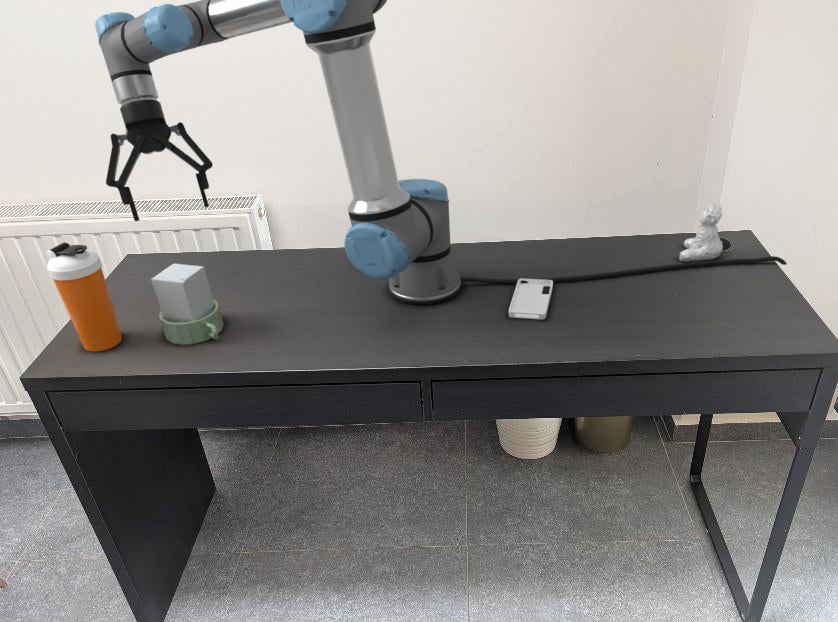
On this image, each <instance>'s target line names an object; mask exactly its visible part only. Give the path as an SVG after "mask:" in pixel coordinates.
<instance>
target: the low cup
mask: <svg viewBox="0 0 838 622" xmlns="http://www.w3.org/2000/svg"><path fill="white" fill-rule="evenodd" d="M213 301H214V305H215V309H214V311H213V312H211V313H210V314H209V315H208V316H206V317H203V318H201V319H199V320H195V321H191V322H184V323H174V322H168V321H166V320H165V319H164V318H163V315H162V312H161V311H159V314H158V317H159V320H160V324H161V327H162V330H163V333H164V336H165V337H164V338H165V339H166V340H167V341H168V342H169V343H172V344H175V345H194V344H199V343H202V342H206V341H209V340H210V339H213V340H219V339H220V335H219V334H220V333H221V332H222V330H223V328H224V326H225V324H224V321H223V317H222V313H221V309H220V305H219V303H218V301H217V300H215V299H213Z"/></svg>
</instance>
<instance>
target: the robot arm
mask: <svg viewBox="0 0 838 622" xmlns="http://www.w3.org/2000/svg"><path fill="white" fill-rule="evenodd" d="M387 1H388V0H198V1H194V2H189V3H185V4H180V5H174V4H172V3H163V4H161V5H158V6H153V7H151V8H150V9H149V10H147V11H146V12H144V13H142V14H140V15H138V16H137V17H135V16H134V15H133V14H131V13H129V12H125V11H124V12H122V11H117V12H110V13H108V14H102V15H100V16H99V17H98V18H96V20H95V23H94V26H95V30H96V34H97V38H98V39H97V40H98V45H99V47H100V49H101V52H102V56H103V58H104V61H105V66H106V68H107V71H108V74H109V77H110V80H111V85H112V88H113V92H114V94H115V99H116V101H117V103H118V105H120V108H119V111H120V114H121V118H122V121H123V124H124V127H125V133H123V134H116V133H111V134H110V141H111V150H110V151H111V152H110V156H109V163H108V168H107V174H106V179H105V185H107V186H108V187H109V188H116V189H117V190H118V192H119V195H120V200H121V202H122V204H123V205H124V206H128V205H129V207H130V210H131V213H132V217H133V220H134V222H140V216H139V213H138V210H137V207H136V204H135V201H134V197H133V195H132V191H131V188H130V187H129V186H126V184H127V183H128V181H129V179H130V176H131V174H132V172H133V170H134V168H135V166H136V164H137V162H138V160H139V158H140V156H141V154H144V155H151V154H153V153H162V152H163V151H165V150H166V149H167V150H168V151H170V152H171V153H172V154H174V156H176V157H178V158H179V159H181V161H182V162H184V163H186V164H187V165H189V166H190V167H191V168H193V169H194V170H195V171H197V172H196V173H195V178H196V181H197V185H198V189H199V191H200V196H201V199H202V202H203V206H204V208H209V206H210V205H209V202H208V198H207V195H206V191H205V190H209V189H210V184H209V179H208V177H207V174H206V173H207V171H208V170H210V169H212V168H213V162H212V160H210V158H209V157H208V156H207V155H206V154H205V152H204V151H203V150H202V149H201V148H200V146H199V145H198V144H197V143H196V142H195V140H194V139H193V138H192V137H191V136H190V134H188V132H187V130H186V127H185V125H184V123H183V122H182V121H179V122H178V123H177V124H174V125H171V126H169V125H168V123H167V121H166V117H165V114H164V111H163V107H162V104H161V102H160V101H159V100H158V99H159V93H158V90H157V87H156V83H155V80H154V76H153V73H152V70H151V67H150V64H152V63H153V62H156V61H157V60H160V59H163V58H165V57H168V56H170V55H175V54H179V53H182V52H186V51H190V50H192V49H196V48H199V47H204V46H207V45H211V44H216V43H221V42H224V41H226V40H227V41H228V40H229V39H233V38H237V37H241V36H245V35H249V34H253V33H256V32H261V31H264V30H268V29H273V28H275V27H279V26H283V25H286V24H287V25H288V24H291V23H293V25H294V26H295V28H297V29H298V30H300V31H302V34H303V38H304V42H305V45H306V47H308V48H309V49H311V50H312V51H313V52H315V53H316V55H317V56H318V60H319V64H320V67H321V71H322V72H321V73H322V76H323V80H324V85H325V88H326V93H327V97H328V100H329V105H330V109H331V112H332V117H333V120H334V125H335V130H336V133H337V137H338V141H339V145H340V149H341V153H342V157H343V162H344V165H345V169H346V173H347V179H348V182H349V185H350V191H351V195H352V198H351V200H350V202H349V204H347V205H348V206H347V212H348V216H349V221H350V225H351V226H350V227H349V229H348V230H347V232H346V235H345V237H344V241H343V242H344V244H343V245H344V250H345V254H346V256H347V258H348V260H349V261H350V263H351V264H352V266H353V267H355V268H356V270H357V271H361V272H362V273H363V275H365V276H366V277H369V278H371V279H375V280H389V281H388V287H389V294H390V295H391V296H392V297H393V298H394V299H395V300H397V301H398V302H400V303H404V304H409V305H423V306H425V305H433V304H438V303H443V302H445V301H448V300H450V299H452V298H454V297H455V296H457V295H458V294H459V293H460V292H461V289H462V282H463V283H465V282H466V283H484V284H485V283H486V284H503V285H504V284H509V285H511V284H512V285H515V284H516V285H517V282H518V280H519V279H520V278H513V279H512V278H485V277H470V276H469V277H468V276H466V277H465V276H461V275H460V273H459V270H458V268H457V265H456V262H455V260H454V257H453V254H452V250H451V229H450V228H451V227H450V226H451V225H450V199H449V193H448V188H447V186H446V185H445V184H444V183H443V182H441V181H438V180H435V179H434V180H433V179H427V178H426V179H425V178H408V179H400V180H399V177H398V172H397V168H396V163H395V158H394V155H393V149H392V144H391V140H390V134H389V129H388V125H387V121H386V116H385V112H384V107H383V101H382V97H381V92H380V87H379V83H378V78H377V73H376V68H375V63H374V58H373V54H372V50H371V43H372V42H371V41H372V40H373V38H374V37H375V35H376V33H377V28H376V23H375V18H374V14H376V13H378V12H379V11H380V10H381V9H382V8H383V7H384V6H385V5H386V3H387ZM172 133H174V134H175V135H176V136H177V137H181V138H182V140H183V141H184V142H185V143H186V145H187V146H188V147H189V148H190V149H191V151H192V152H193V153H194V154H195V155H196V157H198V158H199V160H200V161H201V162H202V163H203V164H200V163H199V162H198V161H196V160H195V159H194V158H192V157H191V156H189V155H188V154H187V153H185V151H183V150H182V149H180V148H179V147H178V146H176V145H175V144H174V143H172V142H171V141H170V138H171V135H172ZM126 141H127V142H128V143H129V144H130V145H132V146H133V147H132V149H131V152H130V154H129V156H128V159H127V161H126V163H125V165H124V167H123V169H122V170H121V174H120V175H119V177H118V180H116V177H117V176H116V175H117V170H118V166H119V160H120V154H121V147H123V146H124V144H125V142H126ZM771 261H773V262H777V263H779V264H780V265H782V266H786V265H788V263H787V261H785V259H783V258H782V257H779V256H775V255H772V256H764V257H757V258H756V257H755V258H734V259H717V260H716V259H715V260H704V261H691V262H683V263H676V264H674V263H673V264H665V265H657V266H649V267H642V268H634V269H633V268H632V269H626V270H625V269H624V270H617V271H609V272H601V273H593V274H581V275H572V276H560V277H559V276H558V277H545V278H539V279H540V280H552V281H553V283H560V282H561V283H562V282H572V281H573V282H574V281H582V280H594V279H603V278H610V277H618V276H626V275H634V274H642V273H650V272H655V271H656V272H657V271H665V270H666V271H667V270H674V269H675V270H676V269H682V268H683V269H685V268H693V267H704V266H717V265H718V266H719V265H733V264H757V263H764V262H771ZM521 283H529V282H528V281H524V280H521Z"/></svg>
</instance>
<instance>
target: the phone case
mask: <svg viewBox="0 0 838 622" xmlns="http://www.w3.org/2000/svg"><path fill="white" fill-rule="evenodd" d="M518 279H519V280H518V282H517V284H516V285H515V289H514V291H513V295H512V298H511V301H510V304H509V307H508V317H509V318H514V319H527V320H528V319H529V320H541V321H542V320H546V318H547V315H548V310H549V306H550V302H551V297H552V292H553V287H554V282H553V281H552V280H540V279H541V278H518ZM521 280H524V281H528V282H529V283H521ZM544 287H549V289H548V290H549V292H548V294H547V293H543V290H544Z"/></svg>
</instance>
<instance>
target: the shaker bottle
mask: <svg viewBox="0 0 838 622" xmlns="http://www.w3.org/2000/svg"><path fill="white" fill-rule="evenodd" d="M46 255H47V259H48V262H47V265H46V269H47V271H48V274H49V276H50V278H51V279H52V280H53V282H54V285H55V287H56V289H57V291H58V293H59V296H60V298H61V300H62V302H63V305H64V307H65V309H66V311H67V313H68V315H69V317H70V320H71V322H72V324H73V327H74V328H75V331H76V333H77V336H78V337H79V340H80V342H81V344H82V347H83V348H84V350H86V351H87V352H92V353H93V352H95V353H97V352H103V351H107V350H109V349H112V348H115V347H116V346H117V345H119V344H120V343H121V341H122V339H123V337H122V332H121V330H120V326H119V323H118V319H117V316H116V312H115V310H114V306H113V302H112V299H111V295H110V292H109V288H108V285H107V282H106V278H105V275H104V271H103V268H102V267H103V263H102V261H101V257H100V255H99V254H98V253H97V252H95V251H93V250H92V249H89V248H88V246H87V245H86V244H70V243H69V242H67V241H63V242H62V243H60V244H58V245H56V246H54V247H52V248H50V249H48V250H47V251H46Z"/></svg>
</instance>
